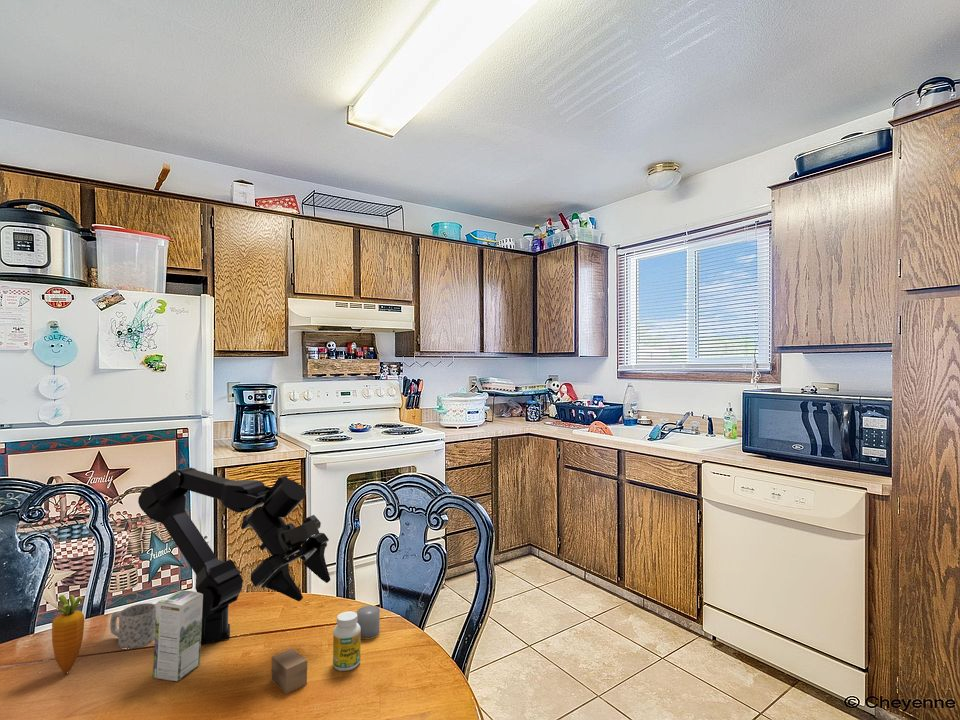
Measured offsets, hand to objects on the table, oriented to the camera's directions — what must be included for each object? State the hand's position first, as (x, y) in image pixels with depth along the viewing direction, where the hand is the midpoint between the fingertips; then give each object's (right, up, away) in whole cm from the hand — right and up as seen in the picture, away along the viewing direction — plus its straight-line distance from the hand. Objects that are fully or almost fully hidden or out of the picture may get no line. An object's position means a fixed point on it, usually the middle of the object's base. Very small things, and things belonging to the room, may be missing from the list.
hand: (315, 590), depth 102 cm
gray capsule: (+9, -14, +9) cm, 19 cm away
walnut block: (-2, -13, -9) cm, 16 cm away
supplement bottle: (+7, -14, -3) cm, 16 cm away
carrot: (-46, -13, -7) cm, 48 cm away
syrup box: (-25, -13, -6) cm, 29 cm away
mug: (-42, -14, +5) cm, 45 cm away
